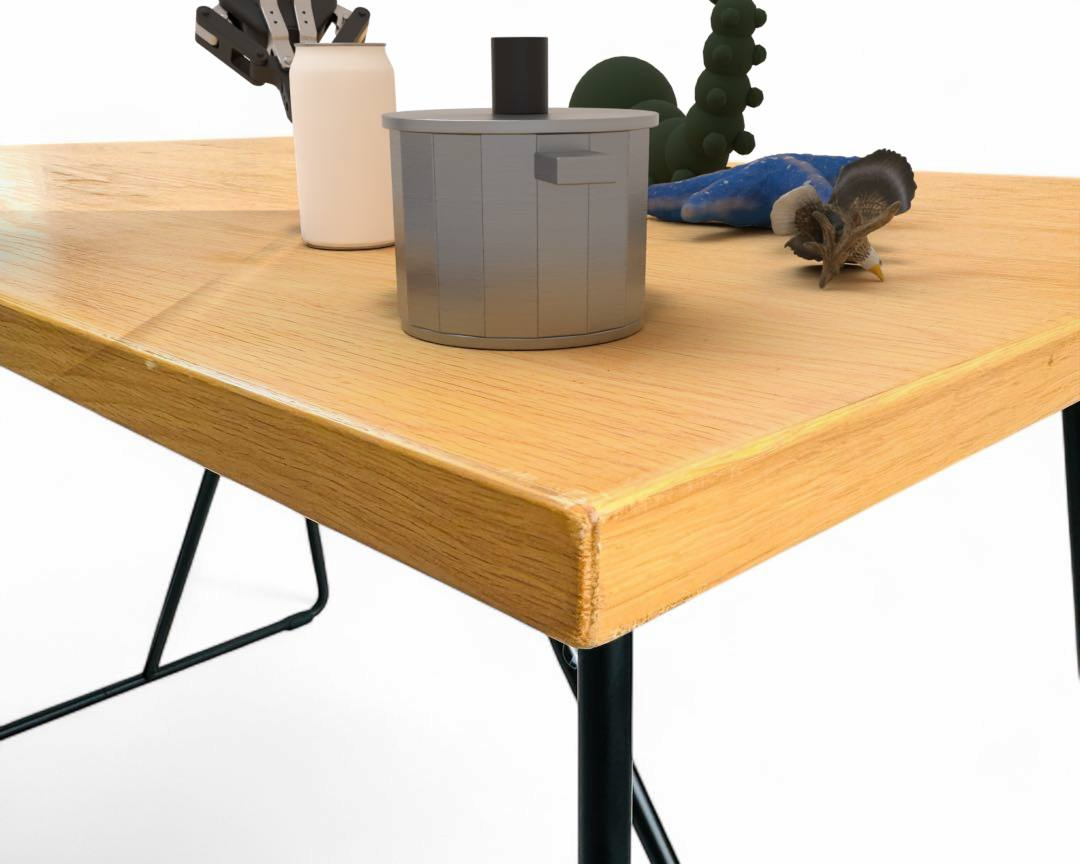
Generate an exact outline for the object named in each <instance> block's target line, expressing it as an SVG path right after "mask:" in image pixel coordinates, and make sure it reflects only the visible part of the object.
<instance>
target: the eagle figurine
mask: <svg viewBox="0 0 1080 864" xmlns="http://www.w3.org/2000/svg"><path fill="white" fill-rule="evenodd" d="M861 157H862V156H861ZM911 167H912V165H911V163H909V162H908V158H907V157H906V156H904V155H902V154H901V153H898V152H897V151H895V150H892V149H889V148H888V149H887V148H886V147H884V148H877V150H874V151H873V152H872V153H869V154H866V155H865V156H863V157H862V158H859V159H856V160H855V161H854V162H852V163H849V164H847V165H844V166H842V168H841V170H840V173H839V175H838V179H837V180H836V184H835V186H834V189H833V191H832V193H831V198H830V199H829V202H828V203H827V204H826V205H824V204H822V203H821V200H820V198H819V196H818V194H817V192H816V189H815V188H814V187H813V186H812V185H805V186H800V187H798V188H796V189H793V190H792V191H790V192H788V193H786V194H784V195H782V196H781V197H780V198H779V199H778V200H777V201H776V202H775V203H774V205H773V210H772V212H771V215H770V218H771V222H772V227H771V229H772V231H773V233H774V234H775V235H776V236H777V237H788V236H792V235H793V237H791V238H790V239H789V240H788V241H786V242H785V244H784V246H783V248H790V251H793V255H794V256H796V257H797V258H801V259H803V260H805V261H815V262H817V263H820V262H822V270H821V274H820V277H819V281H818V287H819V289H821V290H823V289H825V288H826V286H827V285H828V284H829V283H830V282H831V281H832V280H833V278H834V277H835V276H837V275H839V273H840V269H841V268H844V265H845V264H851V265H860V266H861V267H862V268H863V269H864V270H865V271H867V272H868V273H872V274H873V275H875V276H876V277H877V278H878V279H879V280H880V281H885V278H886V277H885V275H884V273H883V270H882V267H883V261H882V259H881V258H880V256H879V255H878V253H877V252H876V250H875V249H874V247H873V245H871V243H870V240H869V238H868V235H870V234H871V233H873V232H875V231H877V230H880V229H881V228H883V227H884V226H886V225H887V224H889V223H890V222H892V220H893V218H894V217H897V216H900V215H903V214H905V213H907V212H908V211H909V210H911V207H912V201H913V200H914V199H915V195H916V190H917V189H918V185H917V182H916V181H915V172H914V171H913V169H912V170H911Z"/></svg>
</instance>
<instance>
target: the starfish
mask: <svg viewBox="0 0 1080 864" xmlns="http://www.w3.org/2000/svg"><path fill="white" fill-rule="evenodd" d="M859 158H862V156H856V155H853V156H843V155H827V154H812V153H795V152H785V153H775V154H770V155H764V156H763V157H759V158H756V159H754V160H752V161H749V162H747V163H743V164H737V165H735V166H733V167H731V168H730V169H728V170H720V171H717V172H714V173H710V174H704V175H700V176H697V177H694V178H690V179H687V180H682V181H679V182H671V183H660V184H654V185H651V186H650V187H648V202H647V216H650V217H652V218H653V217H654V218H656V219H658V220H663V221H671V222H686V223H693V224H695V223H711V222H715V223H723V224H726V225H729V226H733V227H736V228H739V227H749V226H750V227H758V228H772V222H771V218H770V215H771V212H772V210H773V205H774V203H775V202H776V201H777V200H778V199H779V198H780V197H781V196H782V195H784V194H786V193H788V192H790V191H792V190H793V189H796V188H798V187H800V186H805V185H812V186H813V187H814V188H815V189H816V192H817V194H818V196H819V198H820V200H821V203H822V204H824V205H826V204H827V203H828V202H829V199H830V198H831V193H832V191H833V189H834V186H835V184H836V180H837V179H838V175H839V173H840V170H841V168H842V166H844V165H847V164H849V163H852V162H854V161H855V160H856V159H859ZM911 170H912V171H913V168H912V166H911Z"/></svg>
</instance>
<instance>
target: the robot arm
mask: <svg viewBox="0 0 1080 864" xmlns="http://www.w3.org/2000/svg"><path fill="white" fill-rule="evenodd" d="M370 19H371V12H370V10H369V9H368V8H366V7H364V6H357V7H355V8H354V9H353V10H350V9H348V8H346V7H345V6H342V5H340V4H338V0H218V3H217V5H215V6H214V7H210V6H207V5H200V6H198V7H197V8H196V10H195V28H194V41H195V42H196V44H198V46H201V48H203V49H205V50H206V51H207V52H209V53H210V54H211V55H212V56H214V57H215V58H216V59H218V60H219V61H220V62H222V63H223V64H224V65H225V66H227V67H228V68H229V69H231V70H232V71H234V72H235V73H236V74H238V75H239V76H240V77H242V78H243V79H244V80H246V81H247V82H248V83H250V85H253V86H255V87H262V86H265V84H268V85H272V86H274V87H275V88H276V89H277V90H278V91H279V94H280V98H281V101H282V105H283V107H284V111H285V115H286V118H287V120H288V121H289V122H290V123H291V125H293V123H292V109H291V95H290V79H289V71H290V67H291V64H292V61H293V59H294V56H295V51H296V47H295V46H294V43H321V41H322V39H323V38H324V36H325V34H326V32H327V31H328V30H329V28H330V27H331V25H332V24H334V26H335V29H334V33H335V37H334V38H333V40H332V41H331V43H366V38H367V34H368V29H369V25H370Z"/></svg>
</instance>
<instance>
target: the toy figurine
mask: <svg viewBox="0 0 1080 864" xmlns="http://www.w3.org/2000/svg"><path fill="white" fill-rule="evenodd" d="M708 1H709V2H710V3H711V4H712V5H714V6H713V8H712V9H711V14H710V19H709V20H710V28H711V31H712V32H710V34H709V35H708V36H707V38H706V40H705V41H704V44H703V47H702V60H703V66H704V70H702V71H701V73H700V75H699V76H698V77H697V79H696V82H695V85H694V102H695V103H693V105H691V107H690V108H689V109H688V111H687V112H686V114H685V113H684V112H683V111H682V110H681V109H680V108H679V107H678V100H677V97H676V93H675V91H674V88H673V86H672V84H671V83H670V82H669V80H668V78H667V77H666V76H665V74H664V73H662V71H661V70H659V69H658V68H657V67H656V66H654V65H653V64H652V63H650V62H649V61H647V60H645V59H641V58H638V57H636V56H630V55H629V56H628V55H618V56H612V57H609V58H605V59H603V60H601V61H600V62H597V63H595V65H593V66H592V67H590V68H589V69H588V70H586V72H585V73H584V74H583V75H581V77H580V78H579V81H578V82H577V83H576V84H575V87H574V89H573V91H572V93H571V96H570V99H569V101H568V106H567V108H608V109H632V110H645V111H653V112H657V113H659V124H658V126H656V127H652V128H649V166H648V187H650V186H651V185H654V184H660V183H671V182H679V181H682V180H687V179H690V178H694V177H697V176H700V175H704V174H710V173H714V172H717V171H720V170H728V169H730V168H732V166H728V163H729V158H730V155H731V154H732V153H733V152H735V153H737V154H738V155H740V156H748V155H750V154H751V153H752V152H753V151H754V149H755V148H756V146H757V143H756V138H755V135H754V133H752V132H750V131H747V130H745V128H746V124H745V116H744V113H743V112H745V110H746V108H747V107H748V108H752V109H755V108H758V107H760V106H761V105H762V103H763V102H764V100H765V99H764V97H765V96H764V92H763V90H762V89H760V88H759V87H756V86H753V87H752V85H751V80H750V78H749V76H748V73H749V72H750V71H751V70H752V68H753V66H755V67H757V66H759V65H761V64H762V63H764V62H765V61H766V60H767V56H768V52H767V49H766V47H765V46H763V45H762V44H760V43H759V44H756V41H755V40H754V39H755V38H753V35H754V33H755V31H756V30H757V29H760V28H762V27H763V26H765V24H766V23H767V21H768V15H767V12H766V10H765V9H762V8H761V7H757V5H756V4H755V1H753V0H708Z"/></svg>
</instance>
